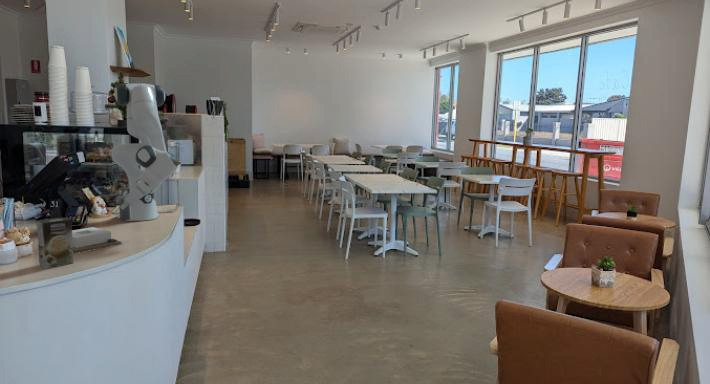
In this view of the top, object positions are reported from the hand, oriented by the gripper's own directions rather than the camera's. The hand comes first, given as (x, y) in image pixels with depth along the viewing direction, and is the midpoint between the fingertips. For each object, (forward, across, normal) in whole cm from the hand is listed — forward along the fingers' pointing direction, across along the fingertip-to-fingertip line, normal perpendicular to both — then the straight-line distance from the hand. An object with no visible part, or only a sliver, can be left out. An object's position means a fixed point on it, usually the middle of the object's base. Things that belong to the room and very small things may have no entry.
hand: (122, 207), depth 205 cm
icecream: (+35, -21, -14) cm, 43 cm away
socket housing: (+20, +5, 0) cm, 20 cm away
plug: (+3, 0, +4) cm, 5 cm away
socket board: (+20, +5, 0) cm, 20 cm away
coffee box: (+22, +33, -2) cm, 39 cm away
